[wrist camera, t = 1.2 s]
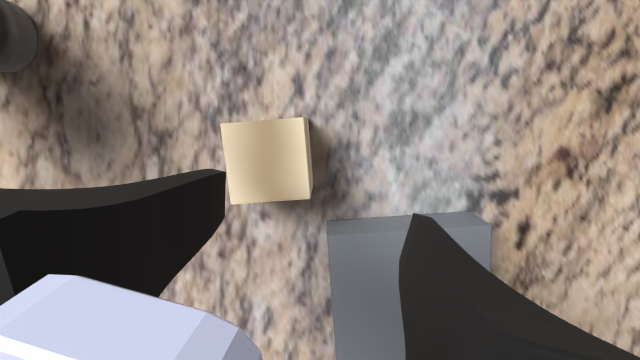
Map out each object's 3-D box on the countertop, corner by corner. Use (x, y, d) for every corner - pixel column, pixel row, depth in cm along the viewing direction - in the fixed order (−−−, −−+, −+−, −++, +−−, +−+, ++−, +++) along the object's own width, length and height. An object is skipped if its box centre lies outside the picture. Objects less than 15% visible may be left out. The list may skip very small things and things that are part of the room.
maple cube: (250, 187, 22) (231, 204, 18) (242, 123, 21) (220, 123, 17) (313, 183, 22) (310, 198, 18) (308, 118, 21) (303, 117, 17)
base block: (336, 345, 24) (337, 375, 21) (327, 220, 22) (326, 235, 19) (467, 338, 24) (487, 368, 21) (469, 211, 22) (491, 225, 19)
